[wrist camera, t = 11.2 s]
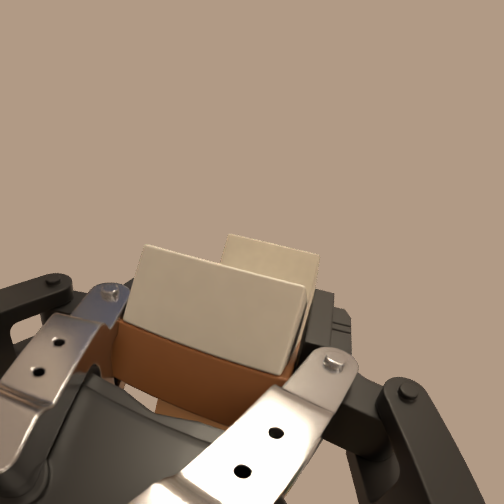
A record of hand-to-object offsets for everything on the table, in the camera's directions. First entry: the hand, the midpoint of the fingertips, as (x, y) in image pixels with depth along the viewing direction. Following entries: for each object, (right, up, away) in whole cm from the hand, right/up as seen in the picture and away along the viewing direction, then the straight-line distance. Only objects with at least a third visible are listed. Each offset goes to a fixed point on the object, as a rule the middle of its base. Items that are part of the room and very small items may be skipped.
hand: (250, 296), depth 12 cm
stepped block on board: (0, -4, +4) cm, 6 cm away
